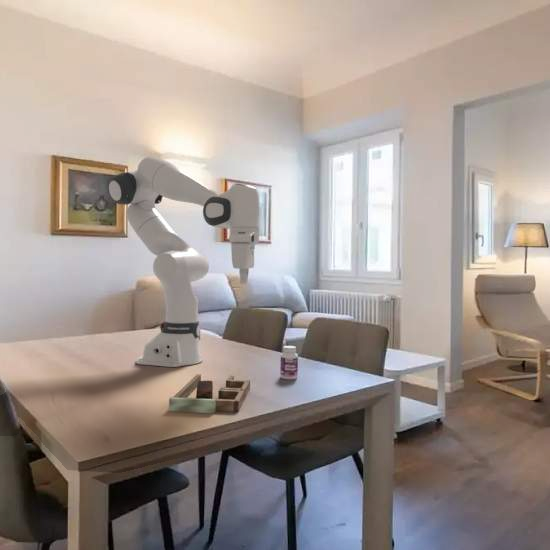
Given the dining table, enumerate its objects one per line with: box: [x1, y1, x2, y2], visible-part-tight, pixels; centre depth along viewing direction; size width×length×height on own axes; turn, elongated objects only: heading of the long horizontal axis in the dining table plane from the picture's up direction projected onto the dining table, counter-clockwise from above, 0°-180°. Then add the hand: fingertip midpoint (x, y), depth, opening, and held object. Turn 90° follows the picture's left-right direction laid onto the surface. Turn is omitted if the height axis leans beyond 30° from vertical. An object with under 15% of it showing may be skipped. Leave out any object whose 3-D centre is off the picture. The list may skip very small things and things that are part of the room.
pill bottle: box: [279, 345, 299, 380], centre depth 144 cm, size 5×5×10 cm
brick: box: [195, 380, 214, 399], centre depth 117 cm, size 11×4×5 cm, turn 7°
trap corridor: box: [168, 373, 251, 414], centre depth 123 cm, size 16×26×3 cm, turn 175°
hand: (243, 283), depth 141 cm, fingers closed
